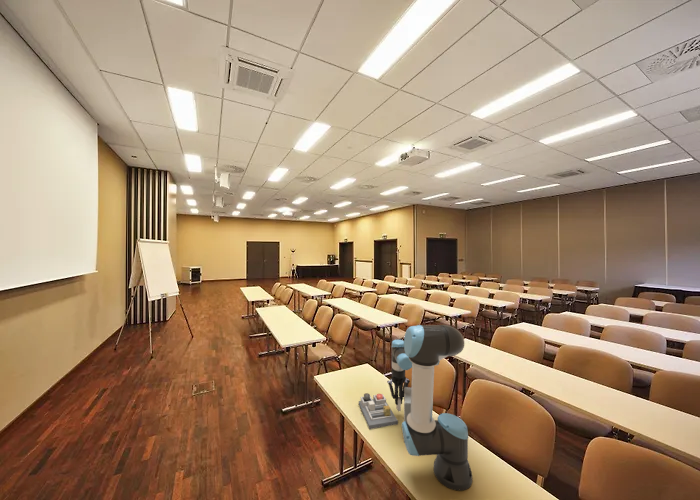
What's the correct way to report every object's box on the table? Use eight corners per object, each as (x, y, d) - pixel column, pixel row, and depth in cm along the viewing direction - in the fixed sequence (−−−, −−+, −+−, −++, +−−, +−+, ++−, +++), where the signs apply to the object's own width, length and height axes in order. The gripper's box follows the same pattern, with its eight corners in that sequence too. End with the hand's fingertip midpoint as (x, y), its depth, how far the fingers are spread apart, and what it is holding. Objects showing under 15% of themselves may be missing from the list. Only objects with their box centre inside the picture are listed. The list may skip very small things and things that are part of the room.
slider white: (374, 410, 150) (374, 403, 150) (369, 411, 149) (369, 404, 149) (373, 407, 153) (373, 400, 153) (368, 408, 152) (368, 401, 152)
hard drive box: (420, 446, 126) (420, 405, 126) (403, 443, 128) (403, 403, 127) (418, 424, 142) (418, 387, 141) (403, 422, 143) (403, 386, 143)
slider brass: (390, 415, 145) (390, 408, 145) (385, 416, 145) (385, 409, 145) (388, 412, 148) (388, 405, 148) (383, 413, 148) (383, 406, 148)
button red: (383, 401, 157) (383, 396, 157) (377, 402, 156) (377, 397, 156) (381, 398, 160) (381, 393, 160) (375, 399, 160) (375, 394, 160)
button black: (370, 401, 155) (370, 396, 155) (364, 402, 154) (364, 397, 154) (368, 398, 159) (368, 392, 158) (363, 398, 158) (363, 393, 158)
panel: (397, 424, 142) (397, 415, 142) (369, 429, 138) (369, 419, 138) (383, 400, 163) (383, 392, 163) (358, 404, 160) (358, 396, 159)
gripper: (406, 364, 153) (406, 404, 153) (385, 366, 150) (385, 407, 150) (412, 370, 145) (412, 412, 146) (390, 372, 142) (390, 415, 143)
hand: (398, 409), depth 148 cm, fingers closed
